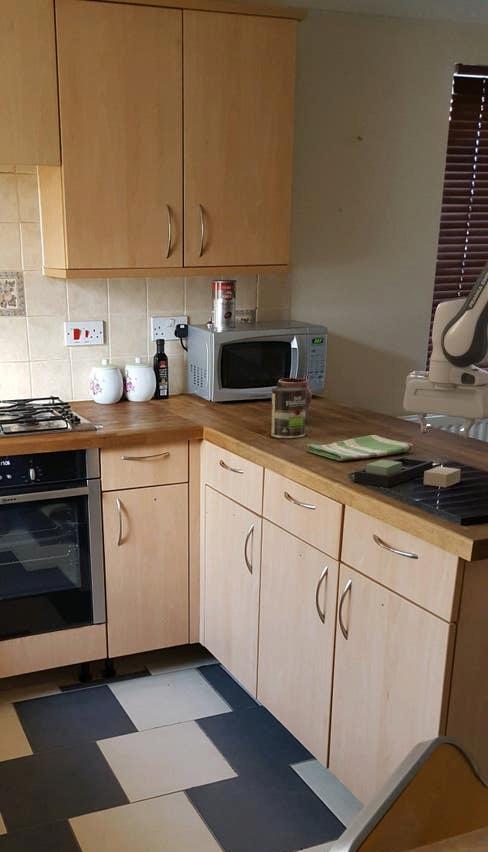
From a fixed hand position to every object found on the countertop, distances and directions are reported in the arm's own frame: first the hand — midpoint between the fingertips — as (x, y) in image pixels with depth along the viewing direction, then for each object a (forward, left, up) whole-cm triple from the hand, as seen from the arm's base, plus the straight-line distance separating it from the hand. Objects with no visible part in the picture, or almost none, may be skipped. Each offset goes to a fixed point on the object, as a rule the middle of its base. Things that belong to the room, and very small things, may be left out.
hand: (444, 435), depth 199 cm
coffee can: (+65, -29, -11) cm, 72 cm away
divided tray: (+12, +1, -11) cm, 16 cm away
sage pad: (+12, +5, -10) cm, 16 cm away
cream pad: (0, 0, -11) cm, 11 cm away
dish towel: (+34, -19, -11) cm, 40 cm away
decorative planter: (+78, -49, -11) cm, 93 cm away
